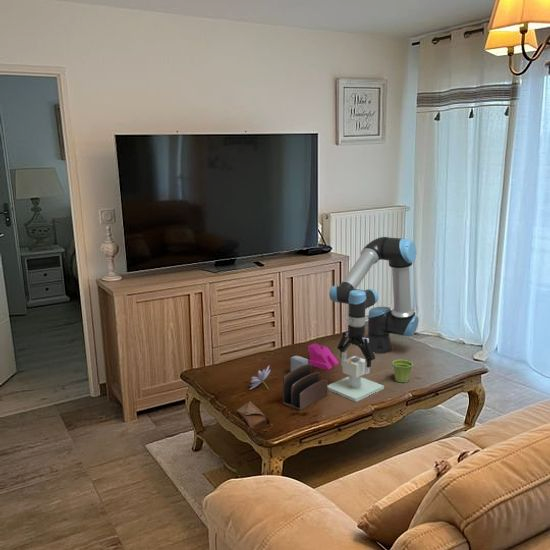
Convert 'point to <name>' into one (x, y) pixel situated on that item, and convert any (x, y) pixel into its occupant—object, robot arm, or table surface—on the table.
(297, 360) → the medicine box
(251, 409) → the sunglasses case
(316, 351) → the bracket
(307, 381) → the letter holder
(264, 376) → the water lily
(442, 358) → the table surface
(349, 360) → the slotted block
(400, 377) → the plant pot
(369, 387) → the shaft stand
